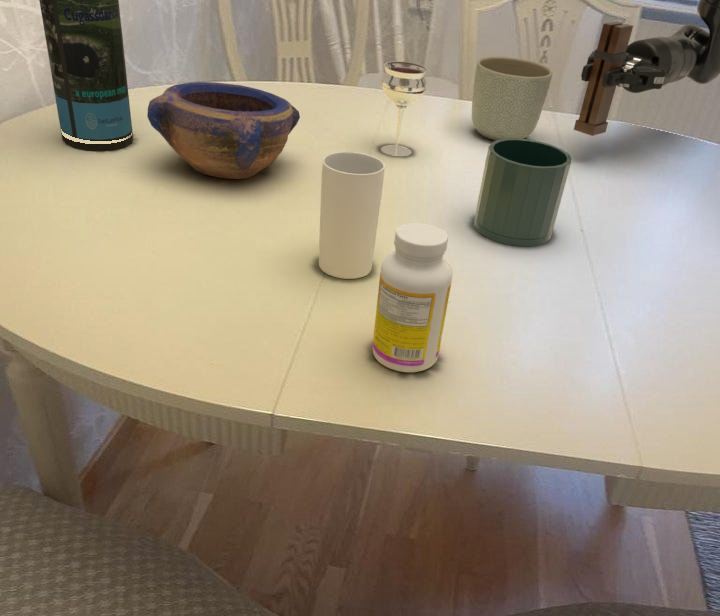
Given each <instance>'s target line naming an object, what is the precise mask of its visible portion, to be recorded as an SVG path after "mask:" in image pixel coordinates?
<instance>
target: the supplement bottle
mask: <svg viewBox="0 0 720 616" xmlns="http://www.w3.org/2000/svg"><path fill="white" fill-rule="evenodd" d="M448 240H449V236H448V233H447V232H446V231H445V230H443V229H442V228H440V227H438V226H435V225H433V224H428V223H423V222H410V223H409V222H408V223H404V224H402V225H400V226H398V227H397V228H396V230H395V235H394V241H393V245H394V248H395V250H394V251H392V252H390V253H389V254H388V255H387V256H385V258H384V259H383V260H382V262H381V264H380V265H381V266H380V271H379V281H378V292H377V300H376V308H375V309H376V310H375V318H374V326H373V327H374V329H373V337H372V353H373V356H374V358H375V359H376V361H377V362H378V363H380V364H381V365H382V366H384V367H386V368H388V369H391V370H393V371H396V372H402V373H418V372H422V371H425V370H427V369H429V368H431V367H433V366H434V365H435V364H436V362H437V360H438V358H439V353H440V350H441V344H442V338H443V333H444V327H445V322H446V315H447V310H448V309H447V308H448V304H449V298H450V293H451V286H452V281H453V269H452V266H451V264H450V262H449V261H448V260H447V258H445V257H444V255H445V253H446V251H447V247H448V242H449V241H448Z"/></svg>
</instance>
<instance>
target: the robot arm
mask: <svg viewBox="0 0 720 616" xmlns="http://www.w3.org/2000/svg"><path fill="white" fill-rule="evenodd" d="M696 12H697V14H698V16H699V18H700V19H701V20H702V22H703V23H704V24H705V26H707V29H708V31H707V30H705V29H704V28H702V27H701V26H698V25H695V24H692V23H691V24H689V23H688V24H684V25H681V26H680V27H679V28H678V29H677V30H676V32H674V33H673V34H672V35H670V36H656V37H651V38H650V37H649V38H645V39H639V40H635V41H633V42H631V43H628V46H627V50H626V52H627V56H626V59H625V60H624V61H623V64H622V68H621V69H619V68H617V69H612V70H607V71H606V72H605V74H604V77H603V81H602V87H605V88H607V87H611V86H616V87H617V86H618V88H623V89H624V90H625V91H627V92H629V93H632V94H639V93H643V92H648V91H651V90H661V89H662V88H663V87H664V86H666V85H667V84H671V83H675V82H679V81H681V80H683V79H685V78H689V79H690V80H691V81H693V82H695V83H697V84H700V85H705V84H708V83H711V82H712V81H714V80H715V79H717V78H718V76H720V0H699V1H698V4H697V6H696ZM594 52H595V50H593V51H591V53H590V55H589V56H588V57H587V61H586V64H585V65H583V67H582V71H581V75H580V77H581V81H583V82H588V81H589V78H590V74H591V70H592V66H593V62H594V58H595V57H593V56H594Z"/></svg>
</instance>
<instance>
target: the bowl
mask: <svg viewBox="0 0 720 616" xmlns="http://www.w3.org/2000/svg"><path fill="white" fill-rule="evenodd" d="M146 117H147V120H148V121H149V124H150V126H151V127H152V128H153V129H154V130H155V131H157V132H158V133H159V135H161V137H163V139H164V140H165V141H166V143H167V144H168V145H169V146H170V147H171V149H173V151H175V153H177V154H178V156H180V157H181V159H182V160H183V161H185V162H186V163H187V164H189V166H191V167H192V168H193V169H194V170H195V171H197V172H199V173H200V174H202V175H205V176H206V175H207V176H210V177H214V178H218V179H227V180H243V179H250V178H252V177H254V176H255V175H257V174H259V173H260V172H261V171H263V169H265V168H267V167H268V166H270V165H271V164H272V163H273V162H275V161H276V160H277V158H278V157H279V156H280V155H281V154H282V152H283V150H284V149H285V146H286V144H287V142H288V140H289V139H288V138H289V135H290V134H291V133H292V131H293V130H294V128H295V127H296V126H297V125H298V122H299V121H300V118H301V115H300V111H299V110H298V109H297V108H296V107H294V105H292V104H291V102H290V101H288V100H287V99H285V98H283V97H281V96H278V95H277V94H274V93H271V92H268V91H265V90H262V89H259V88H254V87H250V86H245V85H241V84H233V83H225V82H215V81H213V82H212V81H193V82H191V81H190V82H183V83H177V84H173V85H170V86H169V87H167V88H166V89H165V90H164V92H163V93H162V94H160V95H159V96H156V97H154V98H152V99H151V100H150V101H149V103H148V106H147V115H146Z"/></svg>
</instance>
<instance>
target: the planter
mask: <svg viewBox="0 0 720 616" xmlns="http://www.w3.org/2000/svg"><path fill="white" fill-rule="evenodd" d="M552 78H553V70H552V69H551V68H550V67H548V66H546V65H545V64H542V63H539V62H537V61H533V60H529V59H525V58H519V57H514V56H513V57H512V56H499V55H498V56H497V55H496V56H495V55H494V56H485V57H480V58H479V59H478V60H477V62H476V68H475V74H474V81H473V90H472V100H471V122H472V126H474V128H475V130H476V131H477V132H478V133H479V134H480V135H481V136H483V137H484V138H486V139H488V140H492V141H496V140H501V139H511V138H516V139H517V138H518V139H527V138H528V137H529V136H530V135H531V134H532V133H533V132H534V131H535V129H536V127H537V125H538V122H539V120H540V117H541V115H542V112H543V108H544V105H545V102H546V99H547V96H548V92H549V89H550V85H551V83H552V82H551V81H552Z"/></svg>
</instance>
